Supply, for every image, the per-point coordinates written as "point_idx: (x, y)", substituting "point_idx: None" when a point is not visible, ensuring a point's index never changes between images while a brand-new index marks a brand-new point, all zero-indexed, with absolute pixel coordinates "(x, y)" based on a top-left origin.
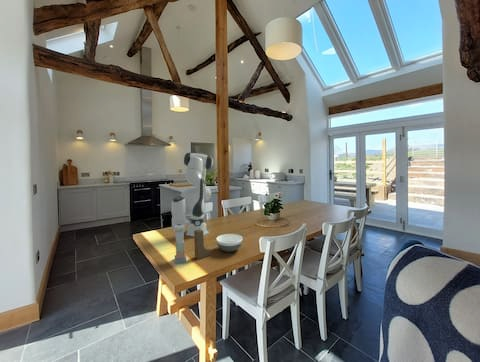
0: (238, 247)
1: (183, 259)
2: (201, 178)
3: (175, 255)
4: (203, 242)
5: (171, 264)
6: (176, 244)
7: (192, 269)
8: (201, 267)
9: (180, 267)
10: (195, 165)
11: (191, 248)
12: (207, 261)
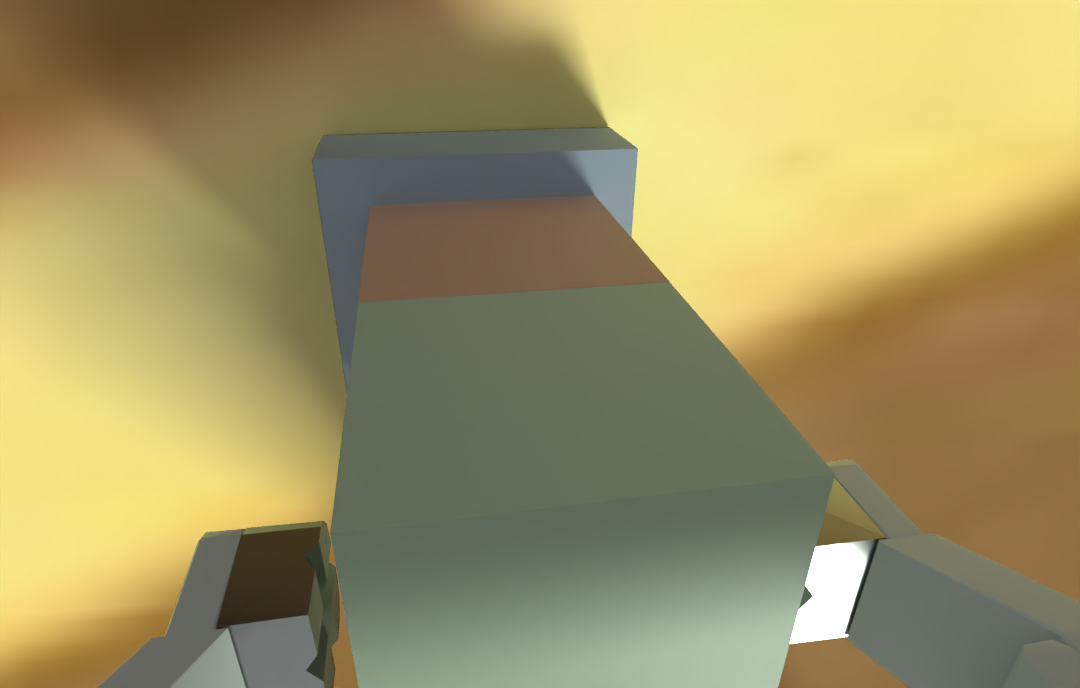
0: None
1: (346, 372)
2: None
3: (611, 170)
4: None
5: (293, 50)
6: (341, 514)
7: (9, 511)
8: (103, 631)
9: (104, 283)
10: None
11: (968, 430)
12: (337, 684)
